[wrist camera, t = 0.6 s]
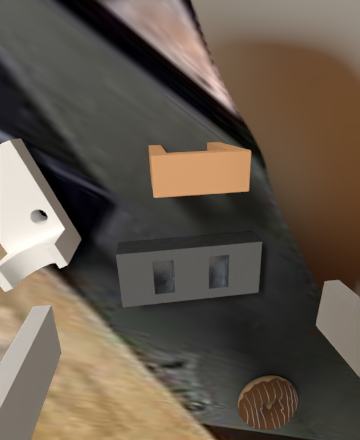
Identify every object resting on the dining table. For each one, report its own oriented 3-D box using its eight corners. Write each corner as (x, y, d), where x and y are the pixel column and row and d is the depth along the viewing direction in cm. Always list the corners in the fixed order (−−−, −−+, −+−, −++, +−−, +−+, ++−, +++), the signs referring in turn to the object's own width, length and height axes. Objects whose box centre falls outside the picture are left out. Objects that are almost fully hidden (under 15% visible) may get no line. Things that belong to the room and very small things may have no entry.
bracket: (83, 235, 35) (67, 264, 28) (32, 257, 35) (4, 291, 28) (24, 138, 30) (-13, 142, 23) (-34, 163, 30) (-88, 176, 23)
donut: (224, 408, 49) (231, 432, 45) (250, 365, 46) (259, 386, 42) (274, 416, 51) (284, 439, 48) (301, 375, 49) (314, 397, 45)
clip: (148, 145, 32) (150, 155, 22) (218, 142, 33) (251, 150, 23) (150, 175, 33) (153, 197, 23) (218, 171, 34) (248, 191, 24)
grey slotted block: (118, 242, 35) (115, 254, 32) (251, 231, 37) (262, 241, 34) (124, 291, 38) (122, 307, 35) (249, 278, 40) (258, 292, 37)
